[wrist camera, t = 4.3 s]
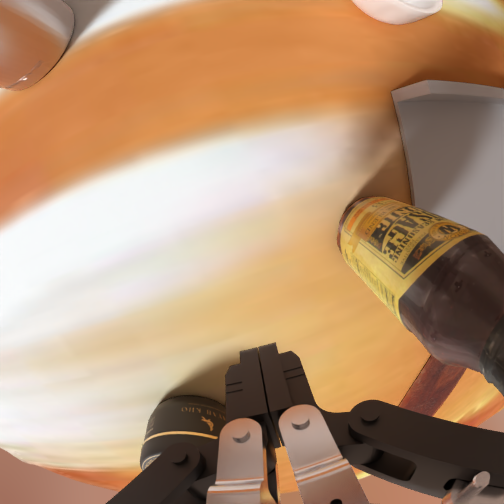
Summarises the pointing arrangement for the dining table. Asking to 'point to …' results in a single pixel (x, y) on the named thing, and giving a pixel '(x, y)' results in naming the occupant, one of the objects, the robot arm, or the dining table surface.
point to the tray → (455, 151)
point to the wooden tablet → (432, 387)
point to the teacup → (399, 9)
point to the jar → (182, 425)
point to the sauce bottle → (431, 280)
